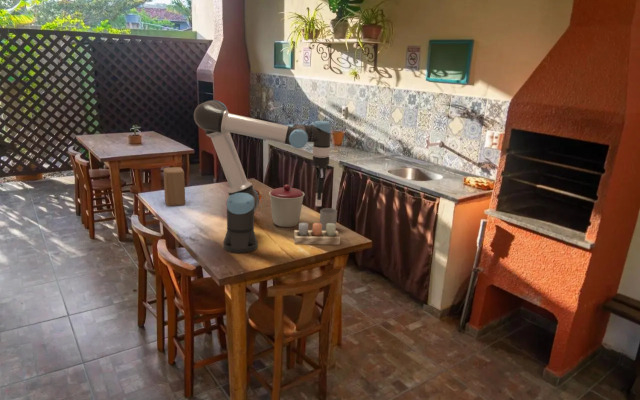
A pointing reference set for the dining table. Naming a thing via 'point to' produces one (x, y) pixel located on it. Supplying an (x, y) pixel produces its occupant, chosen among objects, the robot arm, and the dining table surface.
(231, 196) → the robot arm
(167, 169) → the block
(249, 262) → the dining table surface
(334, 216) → the cup
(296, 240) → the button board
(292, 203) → the canister
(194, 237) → the dining table surface
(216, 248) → the dining table surface
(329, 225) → the pale green egg
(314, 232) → the brown egg
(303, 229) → the grey egg
